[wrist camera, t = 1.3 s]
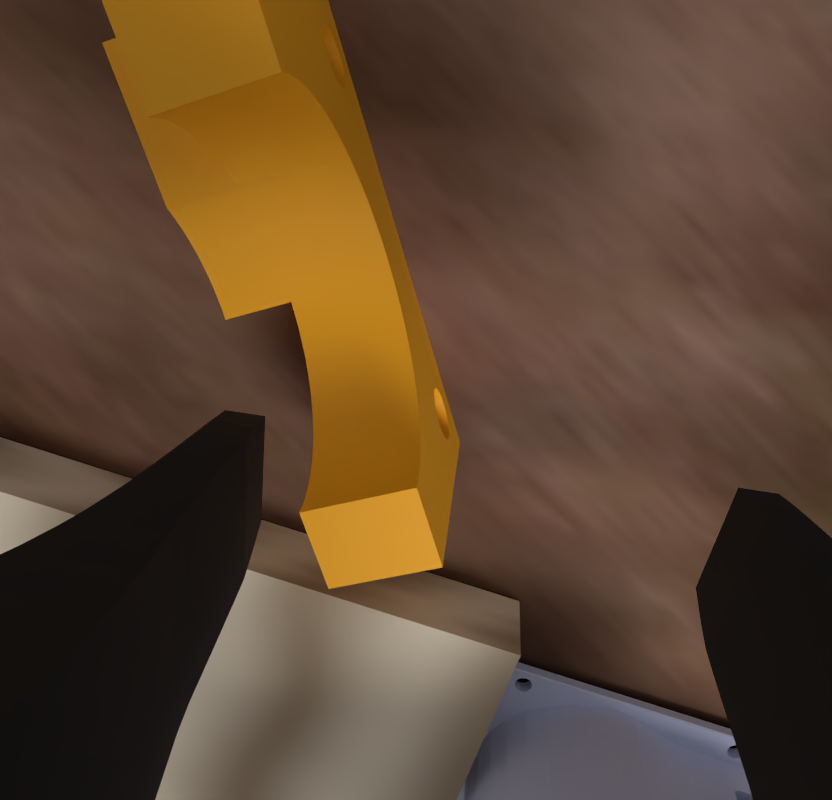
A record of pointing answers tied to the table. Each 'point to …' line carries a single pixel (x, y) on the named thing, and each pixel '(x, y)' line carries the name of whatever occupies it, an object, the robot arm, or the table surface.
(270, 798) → the maple board
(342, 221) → the pipe clamp
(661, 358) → the table surface
